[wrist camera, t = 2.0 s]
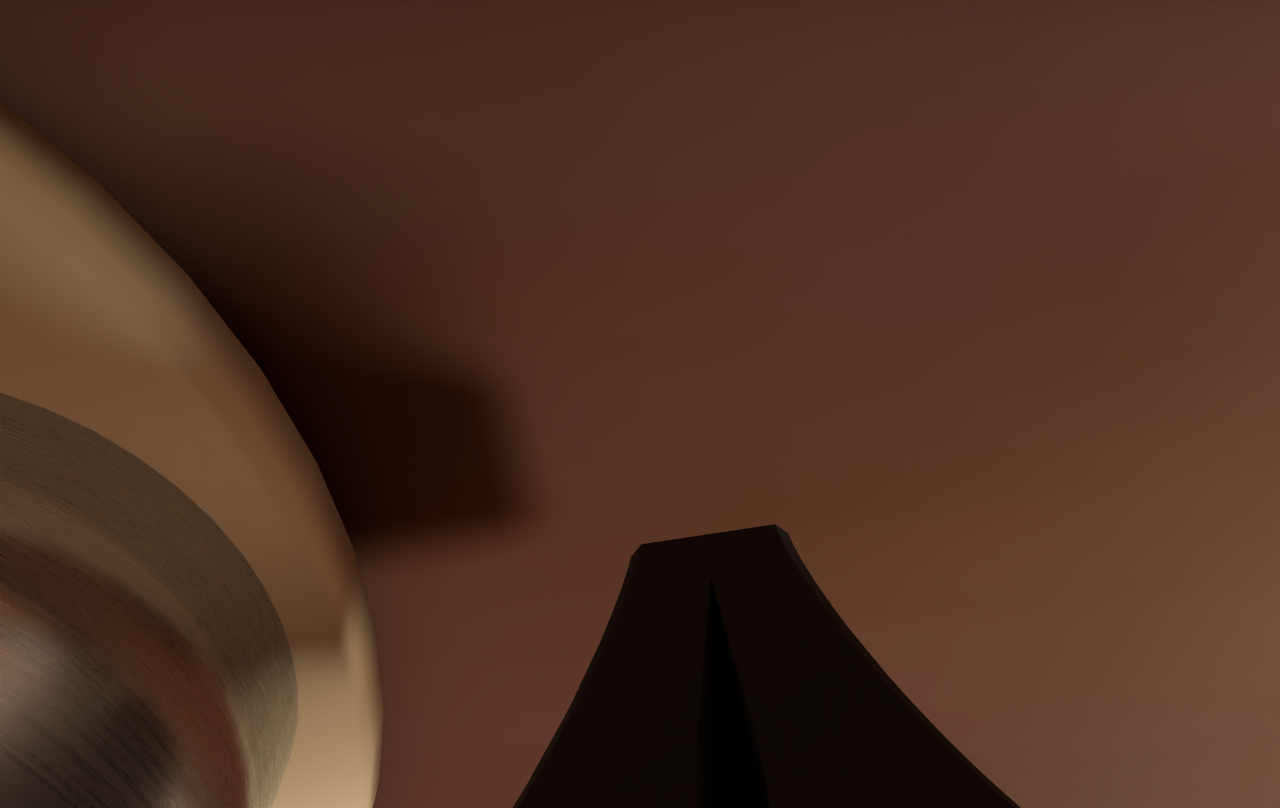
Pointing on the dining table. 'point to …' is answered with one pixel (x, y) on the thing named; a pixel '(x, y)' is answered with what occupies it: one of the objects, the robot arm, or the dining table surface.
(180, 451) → the disc
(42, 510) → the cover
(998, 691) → the dining table surface
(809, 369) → the dining table surface
